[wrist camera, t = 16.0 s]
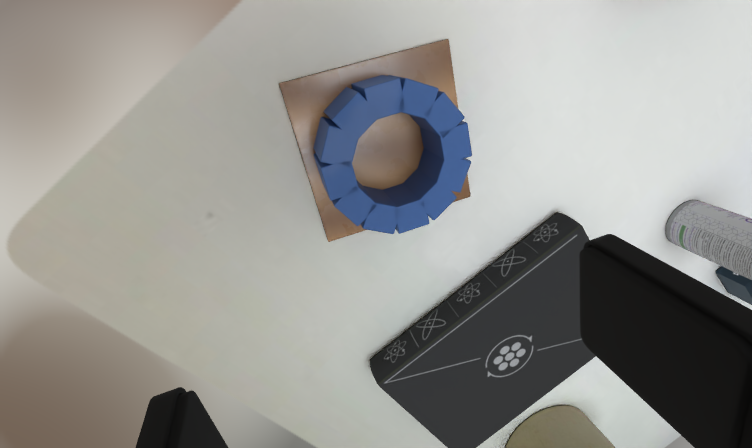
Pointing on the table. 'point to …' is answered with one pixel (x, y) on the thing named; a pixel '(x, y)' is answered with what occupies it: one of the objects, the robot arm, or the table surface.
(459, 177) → the ring
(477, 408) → the book
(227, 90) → the table surface
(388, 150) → the mat
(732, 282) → the watch
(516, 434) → the sugar bowl
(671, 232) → the container
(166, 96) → the table surface
